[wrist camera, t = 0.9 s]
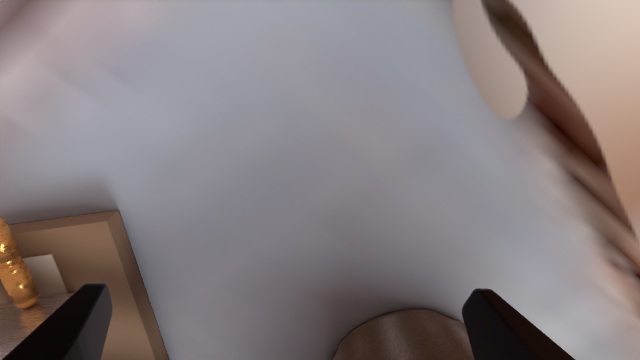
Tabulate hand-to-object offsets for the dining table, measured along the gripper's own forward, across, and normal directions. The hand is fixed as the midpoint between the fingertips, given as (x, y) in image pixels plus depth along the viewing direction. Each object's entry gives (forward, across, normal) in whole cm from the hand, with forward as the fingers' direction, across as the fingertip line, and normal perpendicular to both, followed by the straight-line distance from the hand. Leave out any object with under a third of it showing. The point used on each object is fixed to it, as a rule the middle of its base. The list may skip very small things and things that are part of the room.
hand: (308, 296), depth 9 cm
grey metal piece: (+10, +13, +12) cm, 20 cm away
